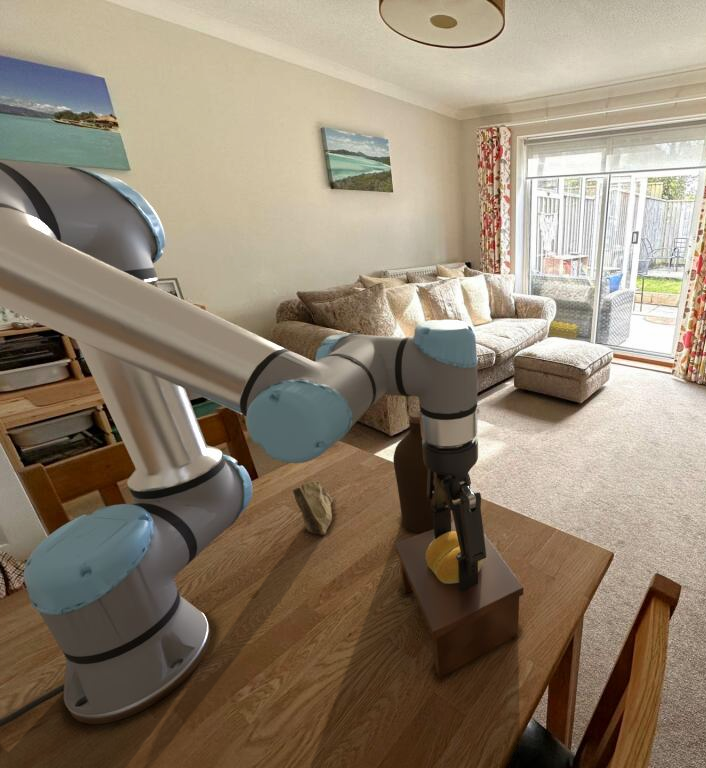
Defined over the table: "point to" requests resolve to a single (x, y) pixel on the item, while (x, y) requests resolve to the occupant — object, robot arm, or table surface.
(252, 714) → the table surface
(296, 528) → the table surface
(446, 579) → the bread roll
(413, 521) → the olive oil
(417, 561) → the block
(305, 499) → the rock
